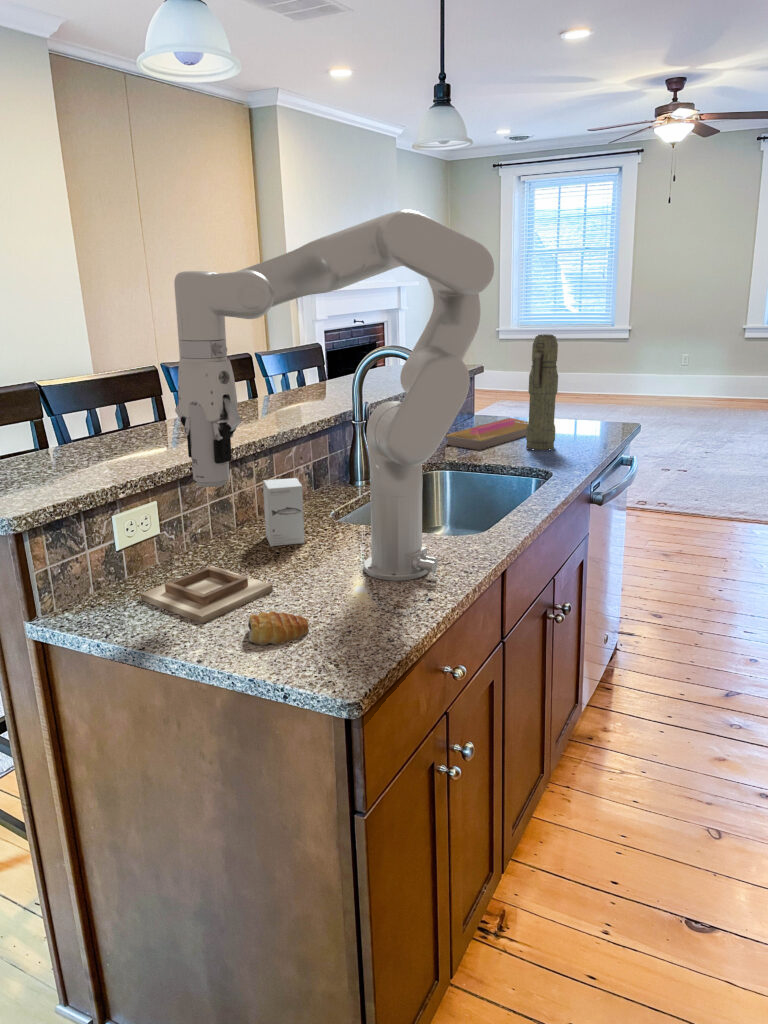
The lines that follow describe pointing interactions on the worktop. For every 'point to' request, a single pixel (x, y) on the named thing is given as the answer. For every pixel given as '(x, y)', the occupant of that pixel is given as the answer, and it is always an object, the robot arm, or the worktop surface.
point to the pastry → (276, 627)
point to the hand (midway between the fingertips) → (209, 458)
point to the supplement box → (283, 511)
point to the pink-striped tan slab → (488, 434)
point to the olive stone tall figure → (542, 393)
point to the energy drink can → (204, 449)
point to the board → (206, 593)
